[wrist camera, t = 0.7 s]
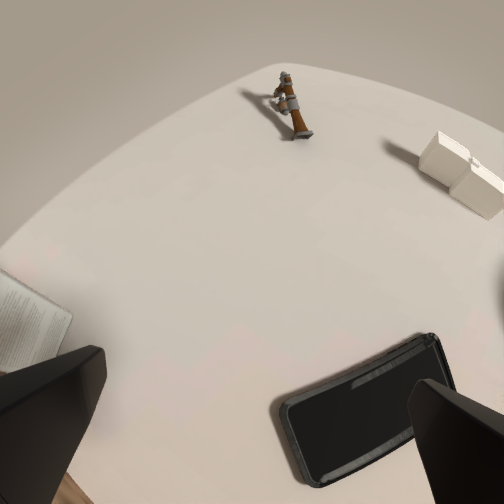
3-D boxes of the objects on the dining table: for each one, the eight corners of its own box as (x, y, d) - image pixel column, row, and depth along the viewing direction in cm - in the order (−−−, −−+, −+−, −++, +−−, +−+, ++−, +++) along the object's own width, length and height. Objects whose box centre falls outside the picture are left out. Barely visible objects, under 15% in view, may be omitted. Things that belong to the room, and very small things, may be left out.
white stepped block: (501, 221, 30) (527, 200, 25) (463, 255, 28) (497, 231, 22) (437, 134, 35) (456, 107, 30) (388, 148, 32) (408, 115, 27)
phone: (460, 404, 20) (310, 493, 17) (452, 404, 21) (306, 488, 18) (434, 327, 23) (276, 403, 20) (427, 329, 24) (273, 402, 21)
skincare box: (40, 293, 22) (-50, 228, 11) (75, 315, 21) (-18, 255, 10) (14, 354, 19) (-88, 320, 8) (48, 380, 19) (-59, 362, 8)
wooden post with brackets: (280, 87, 33) (292, 67, 29) (299, 147, 33) (314, 133, 29) (266, 88, 33) (277, 68, 28) (284, 149, 33) (298, 134, 29)
